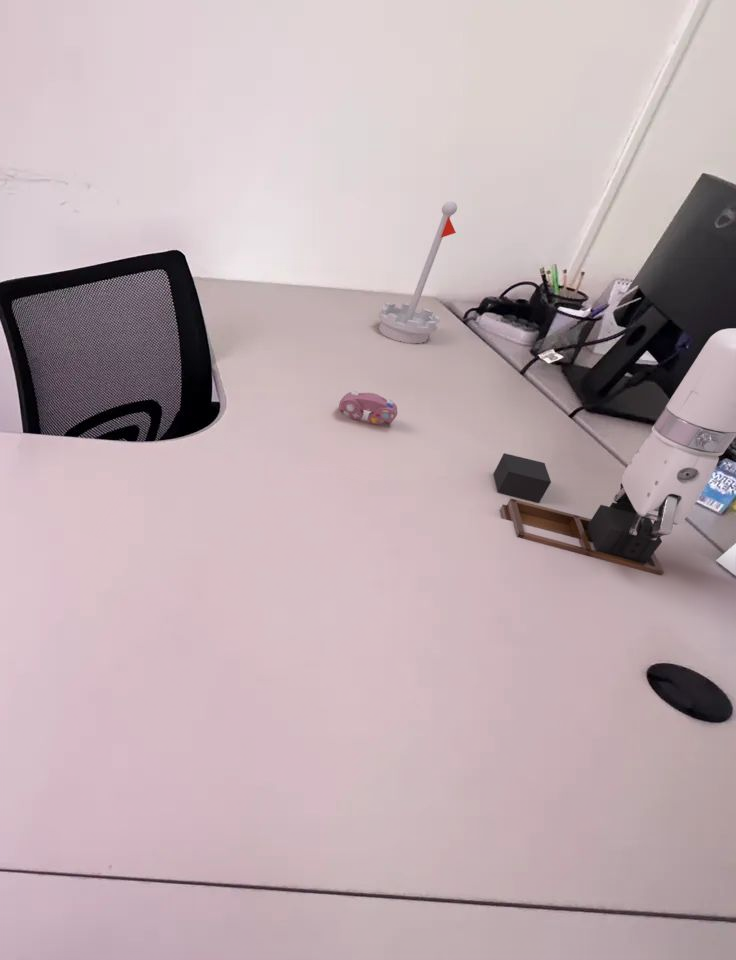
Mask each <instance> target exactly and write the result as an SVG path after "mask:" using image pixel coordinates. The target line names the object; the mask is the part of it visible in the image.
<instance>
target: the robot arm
mask: <svg viewBox="0 0 736 960" xmlns="http://www.w3.org/2000/svg"><path fill="white" fill-rule="evenodd" d="M735 438H736V327H735V328H734V327H733V328H731V327H730V328H724V329H723V328H722V329H720V330H718V331H716V332H715V333H714V334H712V335H711V336H710V337H709V338H708V340H707V341H706V342H705V344H704V345H703V347H702V349H701V350H700V352H699V354H697V357H696V358H695V360H694V362H693V363H692V364H691V366H690V367H689V369H688V371H687V372H686V374H685V376H684V377H683V379H682V380H681V381H680V383H679V385H678V386H677V387H676V389H675V391H674V392H673V394H672V396H671V398H670V399H669V400H668V402H667V404H666V405H665V407H664V409H663V410H662V411H661V413H660V415H659V416H658V417H657V419H656V421H655V422H654V424H653V426H652V427H651V433H650V434H649V436H648V437H647V438H646V439H645V441H644V442H643V443H642V445H641V446H640V447H639V449H638V450H637V451H636V453H635V454H634V456H633V457H632V459H631V460H630V462H629V463H628V465H627V467H626V468H625V470H624V472H623V474H622V476H621V483H620V489H619V491H618V492H617V493H616V494H615V495H614V497H613V502H612V503H611V504H610V505H609V507H612V508H616V509H620V510H624V511H628V512H633V513H636V516H635V518H634V521H633V523H632V525H631V528H630V530H625V531H624V532H623V534H622V535H621V537H620V538H619V540H618V541H617V543H616V544H615V546H614V547H613V549H612V550H611V553H612V555H614V556H617V557H621V558H624V559H628V560H632V561H638V560H639V559H640V558H641V556H642V555H643V553H644V552H645V551H646V549H647V548H648V547H649V545H650V544H651V542H652V541H655V540H656V539H657V538H658V537H660V538H661V537H662V536H668V535H671V533H672V531H673V527H674V525H675V526H678V525H681V524H682V523H683V522H684V521H685V520H686V518H687V517H688V516H689V514H690V512H691V511H692V509H693V508H694V506H695V505H696V503H697V502H698V500H699V498H700V497H701V496H702V494H703V492H704V490H705V489H706V487H707V486H708V484H709V482H710V480H711V478H712V476H713V474H714V472H715V470H716V468H717V466H718V463H719V460H720V456H722V455H724V453H725V452H726V450H727V449H728V447H729V446H730V445H731V443H732V442H733V441H734V439H735ZM650 511H651V512H653V511H655V512H658V513H657V515H656V514H653V513H649V512H650ZM644 518H647V519H651V521H653V522H652V523H653V525H644V526H641V525H642V523H643V520H644Z"/></svg>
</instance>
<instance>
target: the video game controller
mask: <svg viewBox="0 0 736 960" xmlns="http://www.w3.org/2000/svg"><path fill="white" fill-rule="evenodd" d="M338 410H339V411H340V412H344V411H345V412H346V413H348V416H349V417H350V418H351V419H353V420H355V421H358V420H361V419H362V418H363V416H364V414H365V411H367V412H369V413H368V415H367V422H368V423H369V424H370V425H371V424H372V425H379V424H380V423H383V422H386V423H388V424H391V423H392V422H393V421H395V419H396V418H397V416H398V406H397V404H396V403H395V402H394V400H393V399H386V398H384V397H383V396H381V395H379V394H377V393H374V392H358V391H356V390H352V391H350V392H348V393H346V394H344V395H343V396H342V398H341V400H340V401H339V403H338Z"/></svg>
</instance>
